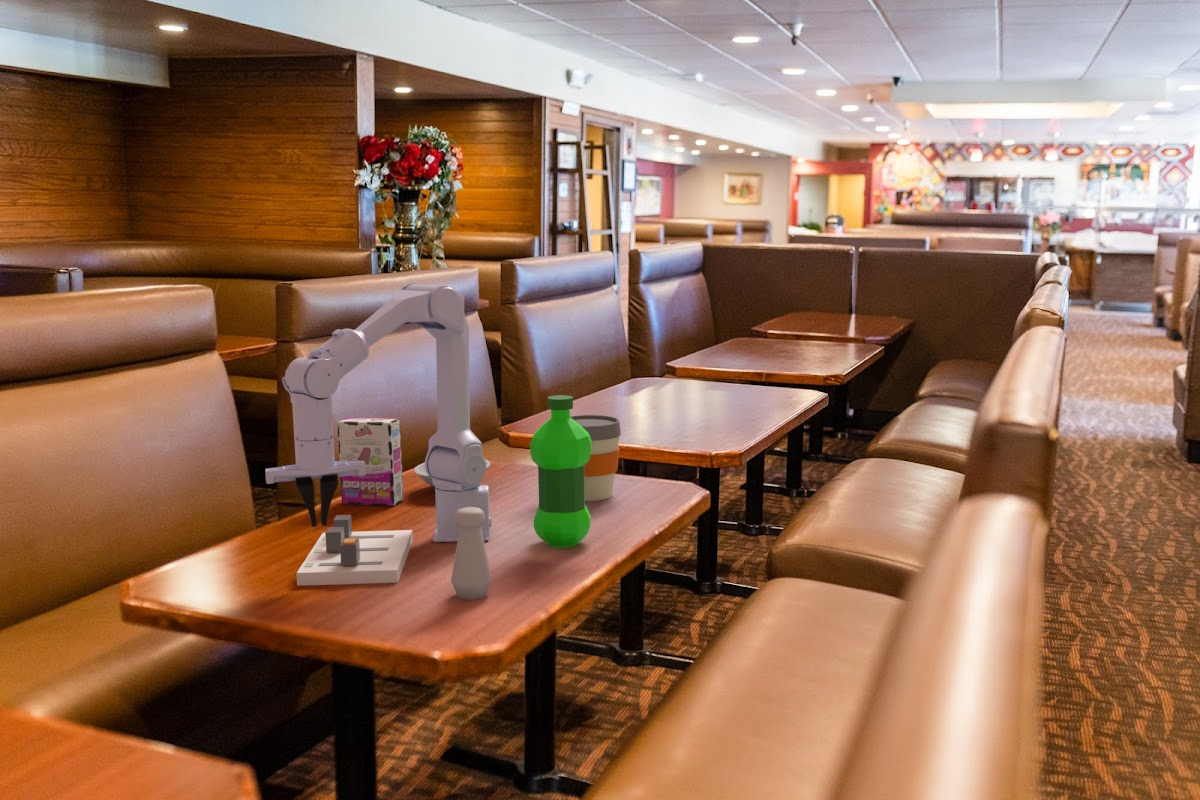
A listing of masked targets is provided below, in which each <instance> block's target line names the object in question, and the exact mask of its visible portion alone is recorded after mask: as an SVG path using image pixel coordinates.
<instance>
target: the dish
mask: <svg viewBox="0 0 1200 800" xmlns="http://www.w3.org/2000/svg"><path fill="white" fill-rule="evenodd" d="M485 461H486V470H487V469H489V468H490V466H491V462H490V460H488V459H486V458H485ZM413 472H414V474H415V475H417V476H419V477H420V478H421V479H422V481H424V482H425V483H426V484H427V485H429V486H431V487H434V488H435V485H433V484H432V478H430V477H429V476H428V474H427V473H426V470H425V462H422V463H420V464H418V465H417V466H414V469H413Z"/></svg>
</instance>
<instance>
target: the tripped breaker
mask: <svg viewBox="0 0 1200 800" xmlns="http://www.w3.org/2000/svg"><path fill="white" fill-rule="evenodd" d="M340 553H341V566H342V565H357V564H358V562H359V560H360V546H359V539H356V538H345V539H343V541H342V543H341V545H340Z"/></svg>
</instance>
